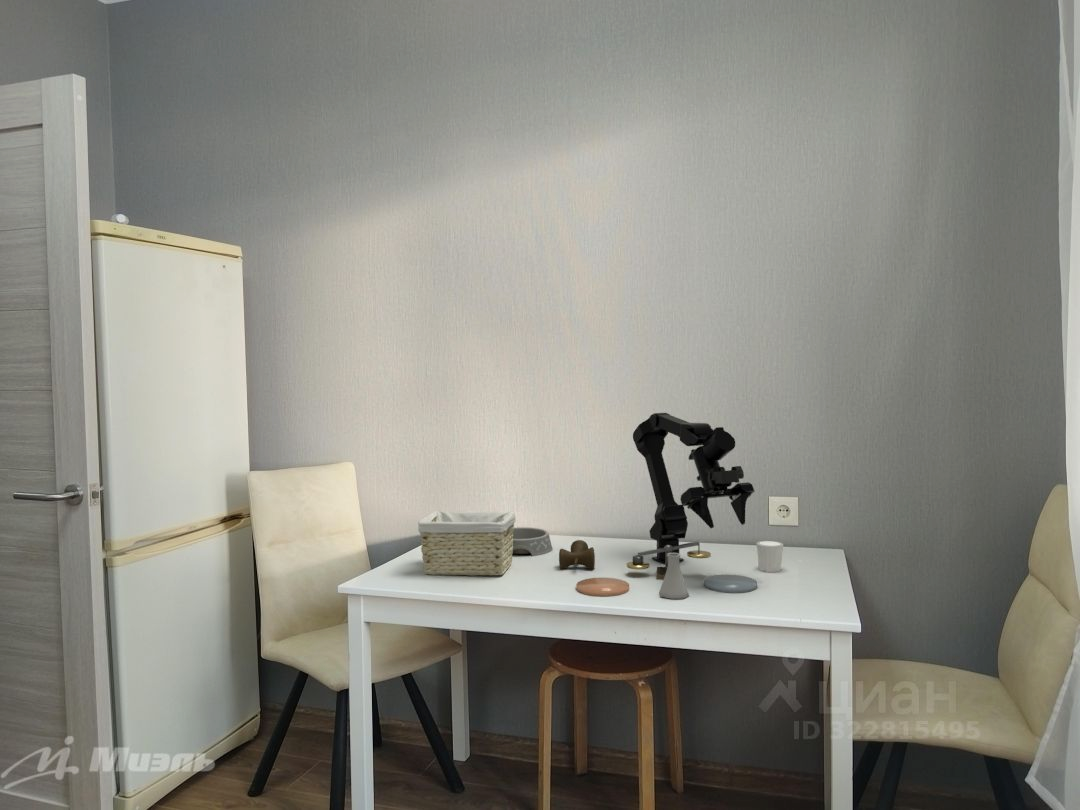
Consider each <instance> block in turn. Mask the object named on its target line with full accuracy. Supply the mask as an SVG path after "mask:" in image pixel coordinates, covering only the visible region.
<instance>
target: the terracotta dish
mask: <svg viewBox="0 0 1080 810" xmlns="http://www.w3.org/2000/svg"><path fill="white" fill-rule="evenodd" d="M575 586H576V588H575V589H576V592H578V593H580V594H582V595H586V596H591V597H615V596H621V595H623V594H626V593H628V592H629V591H630V583H629V582H627V581H626V580H623V579H619V578H614V577H591V578H584V579H582V580H581V579H580V580H578V581H577V583H576V585H575Z"/></svg>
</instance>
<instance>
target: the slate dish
mask: <svg viewBox="0 0 1080 810" xmlns="http://www.w3.org/2000/svg"><path fill="white" fill-rule="evenodd" d="M703 587H705V588H706V589H708V590H710V591H714V592H720V593H727V594H744V593H751V592H754V591H755V590H757V589H758V581H757V580H756V579H755V578H752V577H749V576H745V575H740V574H713V575H709V576H706V577H704V579H703Z"/></svg>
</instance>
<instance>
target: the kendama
mask: <svg viewBox="0 0 1080 810" xmlns="http://www.w3.org/2000/svg"><path fill="white" fill-rule="evenodd" d="M595 555H596V553H595V549H594V547H591V546H590V547H589V545H588V543H587V542H586V541H584V540H583V539H578V540H575V541H573V542H572V543H571V545H570V550H567V549H564V548H559V552H558V564H559V568H560V570H564V569H567V568H569V567H571V566H580V565H581V566H584V567H586V568H588V569H589V570H592V571H593V570H594V569H595V565H596V556H595Z"/></svg>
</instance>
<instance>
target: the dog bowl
mask: <svg viewBox="0 0 1080 810" xmlns="http://www.w3.org/2000/svg"><path fill="white" fill-rule="evenodd" d="M552 551H553V546H552V541H551V538H550V534H549V532H548V530H545V529H543V528H539V527H527V526H526V527H523V526H522V527H520V526H517V527H514V531H513V553H512V555H514V554H516V555H524V554H525V555H526V554H527V555H528V554H531V556H532V557H539V556H542V555H543V556H544V555H547V554H549V553H551V552H552Z"/></svg>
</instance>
